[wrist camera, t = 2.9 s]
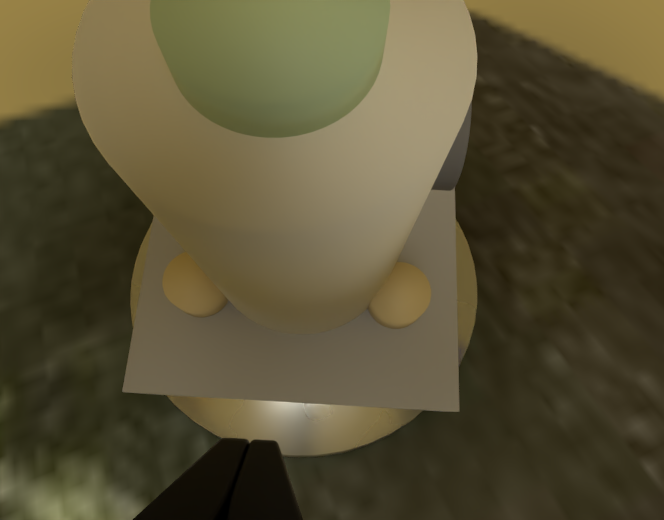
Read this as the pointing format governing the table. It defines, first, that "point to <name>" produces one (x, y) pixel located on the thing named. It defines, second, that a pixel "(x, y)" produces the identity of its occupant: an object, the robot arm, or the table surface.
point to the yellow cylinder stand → (288, 191)
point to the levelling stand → (315, 419)
